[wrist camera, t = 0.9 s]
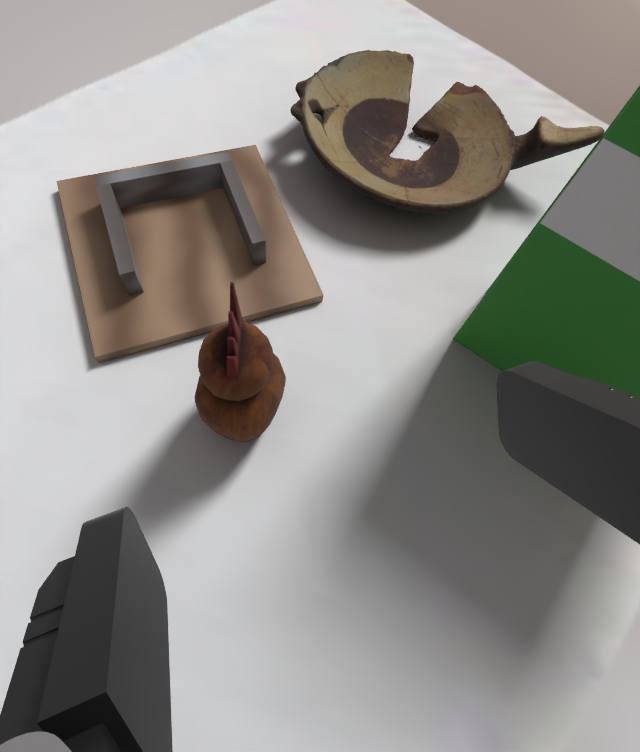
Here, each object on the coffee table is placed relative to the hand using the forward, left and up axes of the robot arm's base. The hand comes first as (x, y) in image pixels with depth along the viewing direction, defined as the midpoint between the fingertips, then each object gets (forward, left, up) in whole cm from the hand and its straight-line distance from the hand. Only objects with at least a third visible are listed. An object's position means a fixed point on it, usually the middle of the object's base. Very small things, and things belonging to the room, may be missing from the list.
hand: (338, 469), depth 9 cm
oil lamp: (+27, +32, -27) cm, 50 cm away
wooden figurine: (0, +11, -26) cm, 29 cm away
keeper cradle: (0, +29, -26) cm, 39 cm away
